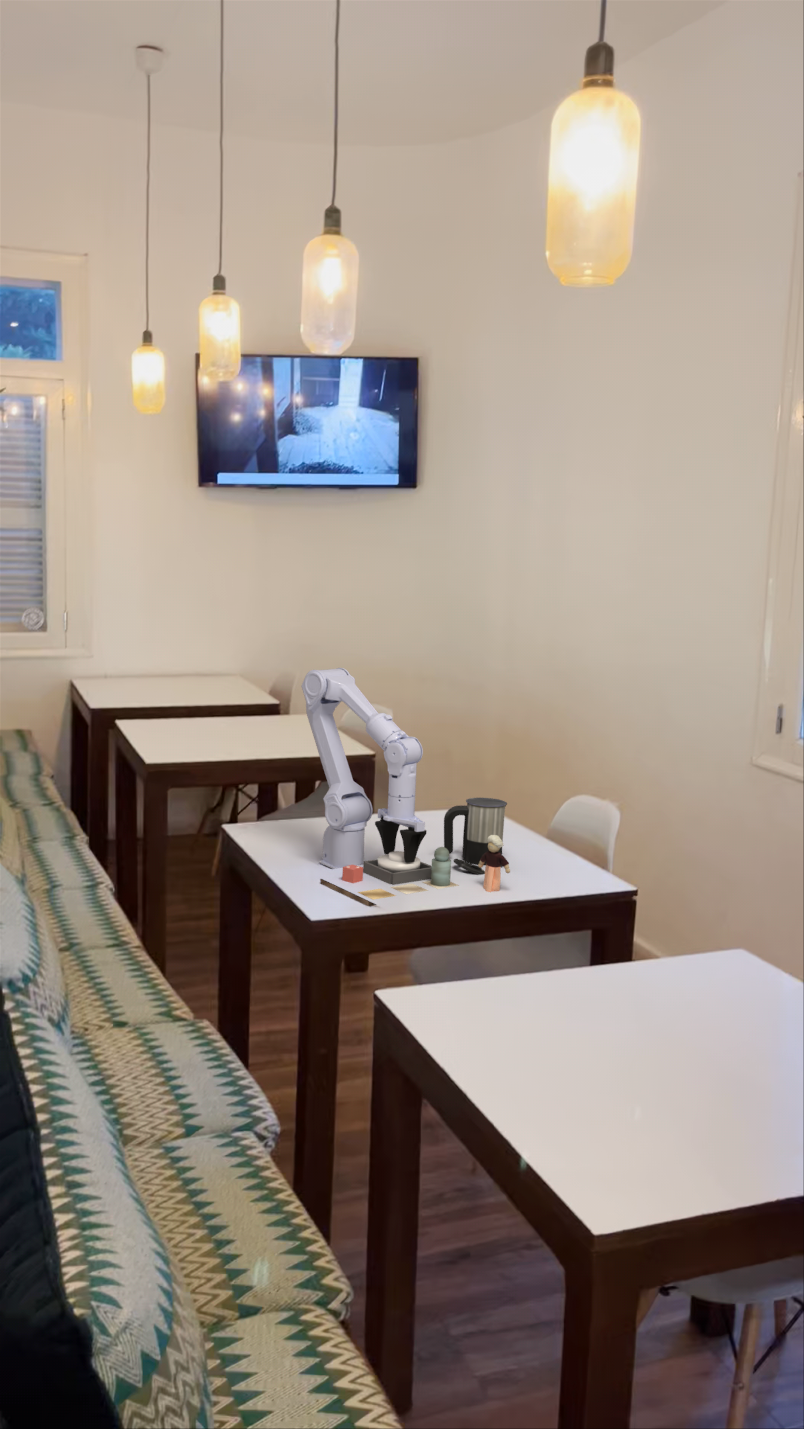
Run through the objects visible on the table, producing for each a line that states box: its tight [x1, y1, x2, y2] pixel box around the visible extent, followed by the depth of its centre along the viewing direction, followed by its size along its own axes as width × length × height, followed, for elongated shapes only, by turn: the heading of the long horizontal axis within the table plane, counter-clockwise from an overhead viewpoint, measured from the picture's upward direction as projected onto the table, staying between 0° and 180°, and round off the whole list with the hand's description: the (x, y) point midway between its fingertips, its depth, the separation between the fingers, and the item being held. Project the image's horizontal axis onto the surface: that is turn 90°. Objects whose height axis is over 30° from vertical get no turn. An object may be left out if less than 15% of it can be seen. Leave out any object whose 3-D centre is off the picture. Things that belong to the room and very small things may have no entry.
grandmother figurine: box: [477, 835, 511, 893], centre depth 244 cm, size 8×4×13 cm, turn 62°
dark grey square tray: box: [362, 858, 432, 886], centre depth 253 cm, size 11×11×2 cm
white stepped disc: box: [377, 850, 421, 872], centre depth 253 cm, size 9×9×3 cm
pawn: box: [430, 846, 452, 886], centre depth 247 cm, size 4×4×8 cm
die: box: [341, 865, 364, 884], centre depth 248 cm, size 3×3×3 cm
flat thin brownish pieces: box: [320, 878, 460, 907], centre depth 248 cm, size 18×24×1 cm
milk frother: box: [443, 797, 508, 876], centre depth 264 cm, size 14×16×15 cm
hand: (399, 857), depth 253 cm, fingers open, 7 cm apart
